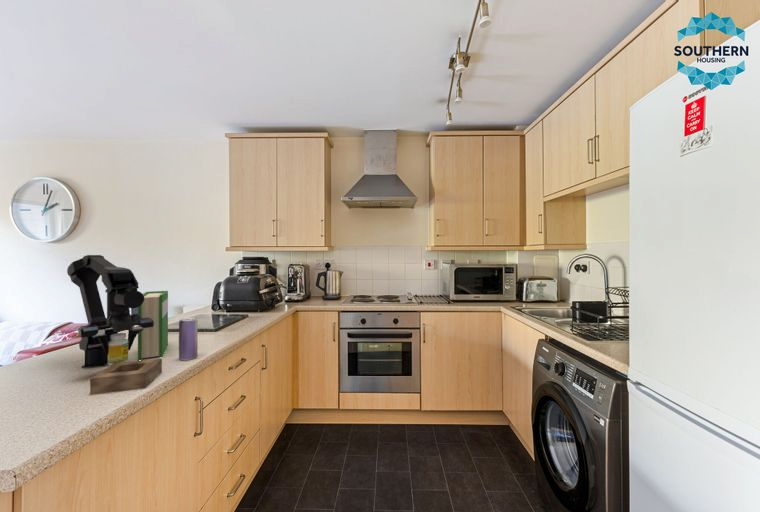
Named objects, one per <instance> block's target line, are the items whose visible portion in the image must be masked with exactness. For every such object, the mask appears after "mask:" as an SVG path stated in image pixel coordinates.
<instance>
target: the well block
mask: <svg viewBox="0 0 760 512" xmlns="http://www.w3.org/2000/svg"><path fill="white" fill-rule="evenodd" d="M162 372H163V359H162V358H154V359H144V360H143V359H142V360H141V361H138V360H133V361H127V362H120V363H114V364H112V365H109V366H107V367H106V368H104V369H103V370H101V371H100V372H98V373H96V374H95V375H93V376H91V377H90V378H89V379H90V380H89V385H90V386H89V389H90V390H89V394H90V395H97V394H105V393H107V394H108V393H114V392H121V391H122V392H123V391H124V392H125V391H133V390H140V389H141V390H142V389H146V388H147V387H148V386H150V384H151V383H152V382H153V381H154V380H156V378H158V377H159V375H160V374H161V373H162ZM132 389H133V390H132Z"/></svg>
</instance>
